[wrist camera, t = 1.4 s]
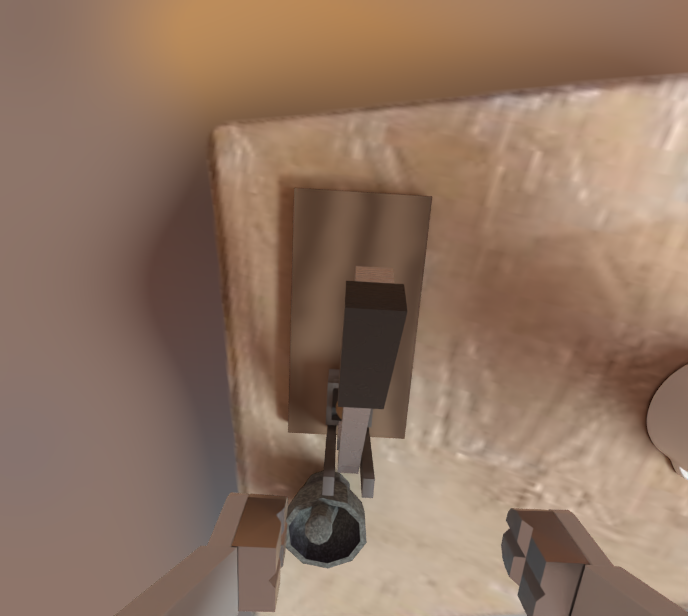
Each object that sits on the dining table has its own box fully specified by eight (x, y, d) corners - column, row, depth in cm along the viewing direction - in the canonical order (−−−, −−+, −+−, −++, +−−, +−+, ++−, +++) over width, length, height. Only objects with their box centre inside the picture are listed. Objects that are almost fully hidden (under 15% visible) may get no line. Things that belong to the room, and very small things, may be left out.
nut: (364, 389, 40) (366, 402, 37) (362, 413, 41) (363, 429, 38) (336, 387, 40) (336, 401, 37) (335, 412, 41) (334, 427, 38)
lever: (400, 257, 21) (407, 311, 18) (363, 448, 38) (363, 493, 34) (347, 253, 21) (344, 307, 18) (333, 446, 38) (331, 491, 34)
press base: (427, 197, 40) (466, 190, 27) (401, 429, 47) (423, 509, 34) (296, 189, 39) (274, 178, 27) (290, 423, 46) (270, 501, 34)
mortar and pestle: (364, 519, 50) (371, 611, 38) (295, 523, 50) (281, 616, 39) (360, 446, 47) (365, 522, 36) (287, 450, 47) (268, 527, 36)
